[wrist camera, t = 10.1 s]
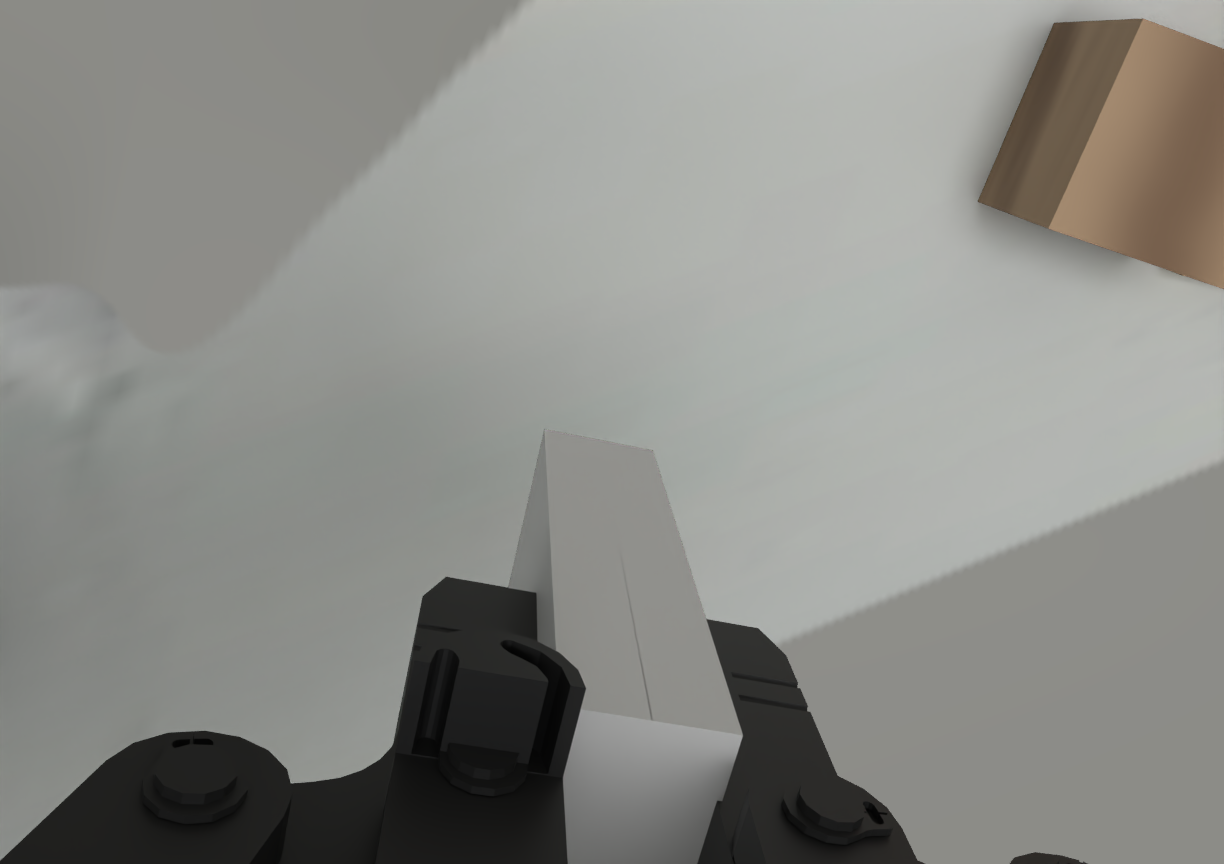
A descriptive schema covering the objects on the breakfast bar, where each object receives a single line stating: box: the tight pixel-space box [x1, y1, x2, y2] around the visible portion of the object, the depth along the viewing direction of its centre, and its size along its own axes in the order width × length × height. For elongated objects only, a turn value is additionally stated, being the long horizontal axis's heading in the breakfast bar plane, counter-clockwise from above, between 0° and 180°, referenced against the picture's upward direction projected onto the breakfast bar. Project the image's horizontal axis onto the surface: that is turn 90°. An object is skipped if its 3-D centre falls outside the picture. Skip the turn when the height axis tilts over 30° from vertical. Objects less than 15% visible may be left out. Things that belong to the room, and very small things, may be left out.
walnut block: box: [978, 19, 1224, 289], centre depth 34 cm, size 6×6×6 cm
